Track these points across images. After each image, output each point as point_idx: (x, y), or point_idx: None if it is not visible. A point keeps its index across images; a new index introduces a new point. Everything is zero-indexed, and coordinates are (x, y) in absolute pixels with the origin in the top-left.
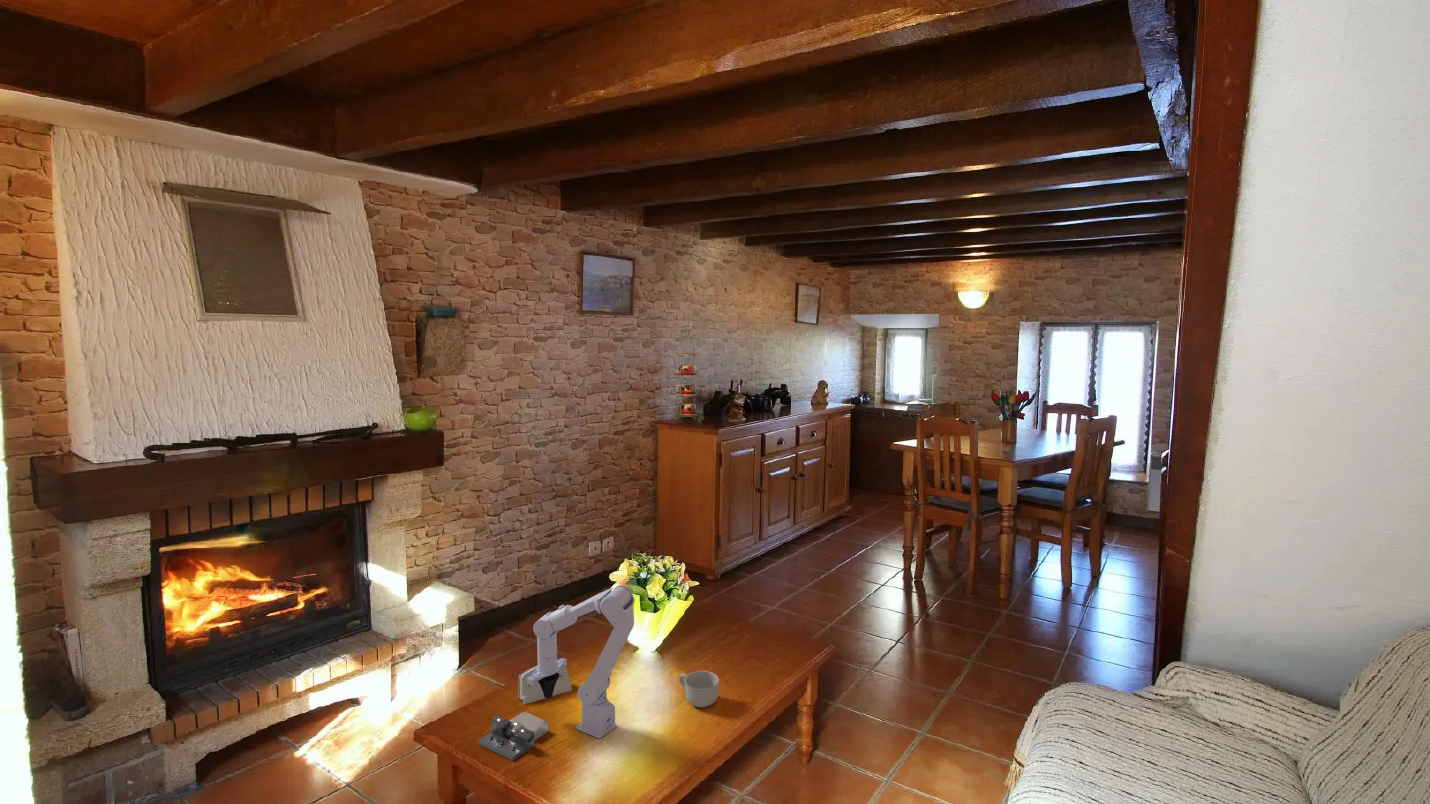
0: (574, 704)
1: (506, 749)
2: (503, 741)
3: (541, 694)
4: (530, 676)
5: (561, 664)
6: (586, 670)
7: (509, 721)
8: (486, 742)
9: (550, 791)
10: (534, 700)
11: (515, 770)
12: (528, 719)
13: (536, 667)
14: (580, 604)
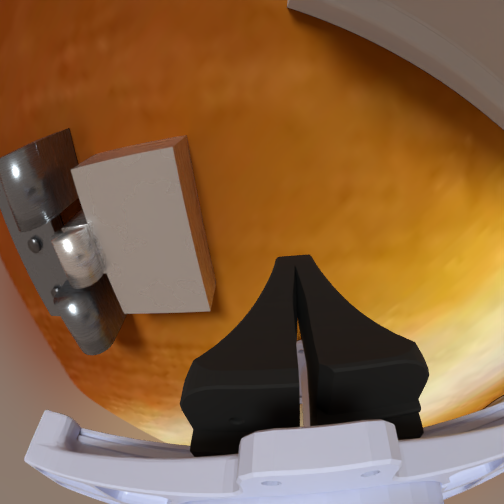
0: (433, 222)
1: (42, 278)
2: (41, 237)
3: (401, 41)
4: (55, 470)
5: (448, 496)
6: None
7: (74, 173)
8: (1, 199)
9: (105, 408)
10: (349, 28)
11: (57, 334)
12: (149, 232)
13: (236, 466)
14: None
